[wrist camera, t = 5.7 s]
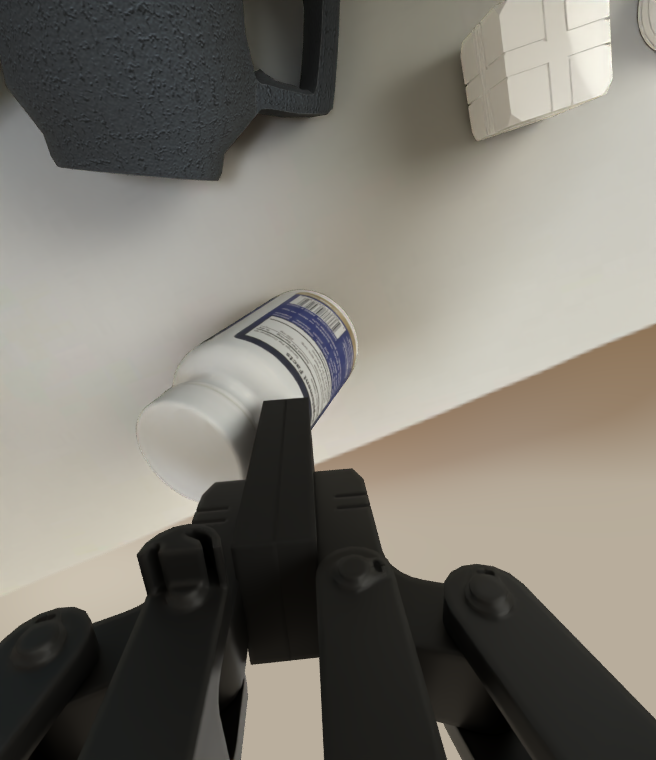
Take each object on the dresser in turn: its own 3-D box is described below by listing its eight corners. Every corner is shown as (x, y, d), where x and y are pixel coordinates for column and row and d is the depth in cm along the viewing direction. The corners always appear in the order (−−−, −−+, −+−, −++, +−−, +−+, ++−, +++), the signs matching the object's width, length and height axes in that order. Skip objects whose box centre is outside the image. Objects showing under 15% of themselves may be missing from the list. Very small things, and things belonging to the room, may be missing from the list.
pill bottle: (279, 389, 23) (157, 515, 15) (249, 296, 21) (88, 385, 13) (371, 384, 21) (283, 530, 13) (347, 278, 19) (224, 374, 11)
